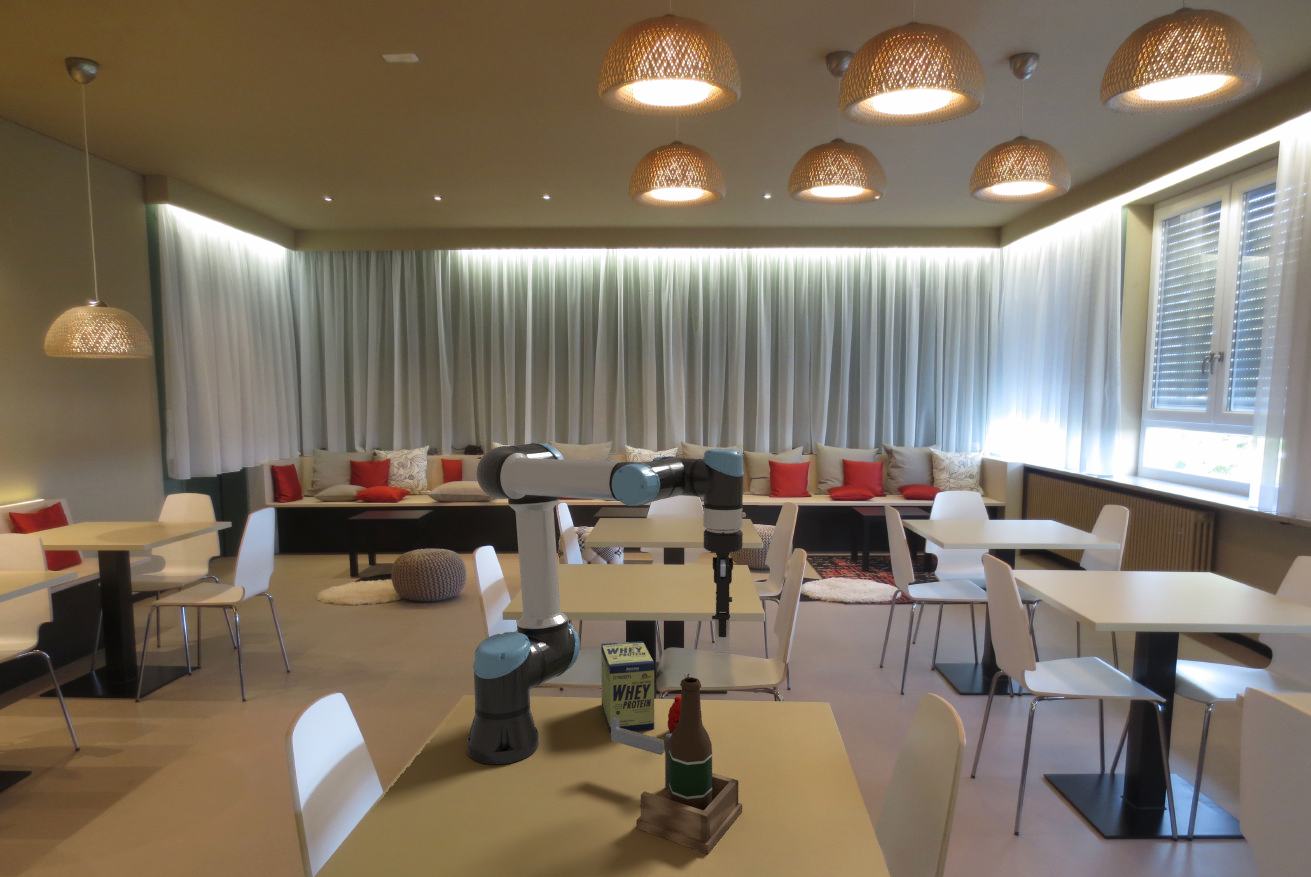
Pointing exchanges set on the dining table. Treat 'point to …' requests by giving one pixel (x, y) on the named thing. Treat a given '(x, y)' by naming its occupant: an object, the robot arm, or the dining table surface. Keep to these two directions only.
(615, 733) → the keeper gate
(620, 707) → the protein box
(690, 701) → the beer bottle
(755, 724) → the dining table surface
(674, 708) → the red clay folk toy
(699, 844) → the wooden crate
